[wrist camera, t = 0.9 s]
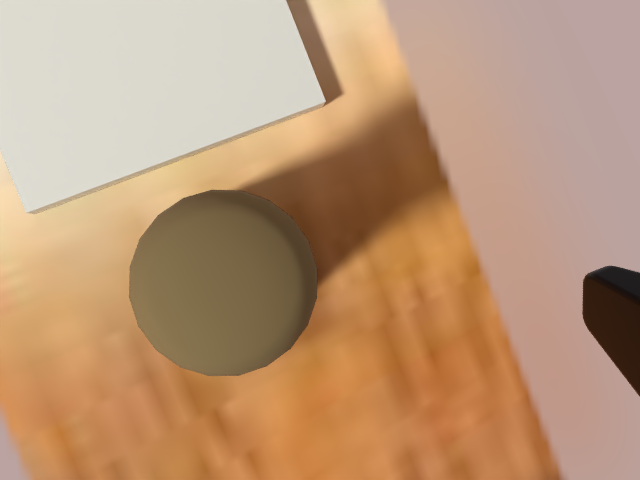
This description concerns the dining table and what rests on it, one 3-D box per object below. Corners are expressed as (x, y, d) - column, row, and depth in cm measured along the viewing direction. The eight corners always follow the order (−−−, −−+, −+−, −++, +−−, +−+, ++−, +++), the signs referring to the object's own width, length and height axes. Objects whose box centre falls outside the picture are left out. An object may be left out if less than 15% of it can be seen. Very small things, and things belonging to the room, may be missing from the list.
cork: (287, 191, 27) (324, 153, 16) (307, 327, 27) (357, 383, 16) (147, 210, 26) (83, 183, 15) (167, 350, 26) (118, 426, 15)
